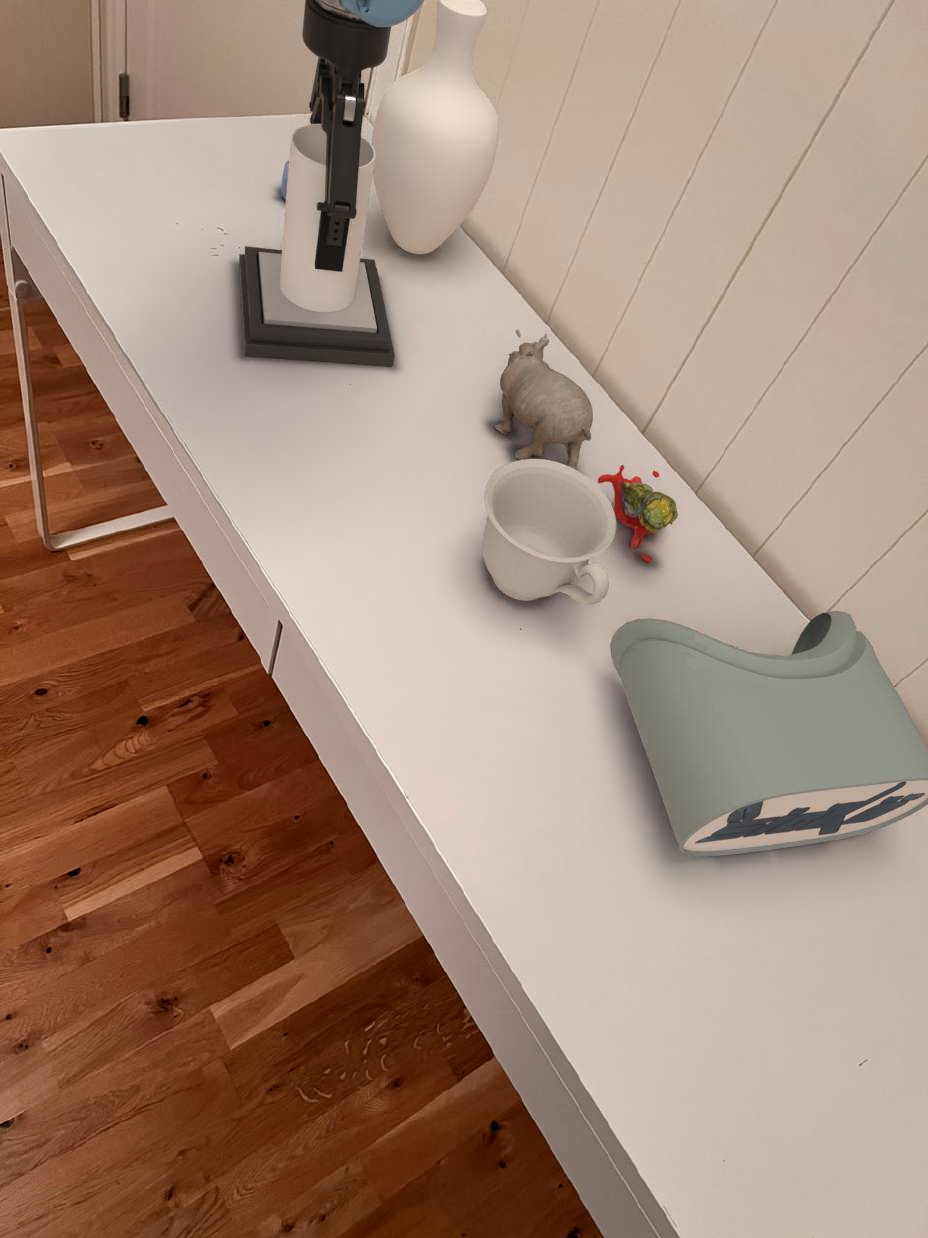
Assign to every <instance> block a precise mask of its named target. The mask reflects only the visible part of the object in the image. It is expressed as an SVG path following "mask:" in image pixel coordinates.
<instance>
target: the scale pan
mask: <svg viewBox="0 0 928 1238" xmlns="http://www.w3.org/2000/svg"><path fill="white" fill-rule="evenodd" d="M281 258H282V254H275V253H265V252H259V260H258V266H259V279H260V291H261V303H262V315H263V324H271V325H284V326H296V327H308V328H321V329H333V330H345V331H358V332H370V333H376V332H377V325H376V320H375V315H374V310H373V305H372V299H371V294H370V289H369V284H368V278H367V273H366V268H365V263H362V262H360V263H359V270H358V276H357V283H356V289H355V296H354V300H353V302H352V303H351V304H350V305H349V306H348V307H346V308H345V309H343V310H340V311H336V312H327V313H326V312H315V311H310V310H307V309H304V308H301V307H299V306H297V305H295V304H293V303H292V302H291V301H289V300H288V299H287V298H286V297H285V296H284V295H283V293H282V292H281V289H280V271H281Z"/></svg>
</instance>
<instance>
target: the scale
mask: <svg viewBox="0 0 928 1238" xmlns="http://www.w3.org/2000/svg"><path fill="white" fill-rule="evenodd" d="M259 252H265V253H275V254H282V249H274V248H266V247H265V248H264V247H257V246H248V245H247V246H246V245H245V246H244V253H239V256H238V270H239V271H238V273H239V287H240V288H239V290H240V305H241V319H242V320H241V321H242V336H243V352H244V356H245V357H255V358H270V359H282V360H298V361H312V362H324V363H325V362H327V363H339V364H353V365H368V366H380V367H393V365H394V360H395V355H396V354H395V350H394V345H393V341H392V335H391V331H390V326H389V321H388V316H387V310H386V307H385V306H386V305H385V301H384V300H385V299H384V296H383V292H382V287H381V280H380V277H379V272H378V271H379V270H378V268H377V265H376V260H375V259H372V258H371V259H370V258H362V257H360V262H362V263H365V268H366V273H367V278H368V284H369V289H370V294H371V299H372V305H373V310H374V315H375V320H376V325H377V332H376V333H370V332H358V331H345V330H333V329H321V328H308V327H296V326H284V325H271V324H263V315H262V303H261V291H260V279H259V266H258V260H259Z"/></svg>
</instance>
